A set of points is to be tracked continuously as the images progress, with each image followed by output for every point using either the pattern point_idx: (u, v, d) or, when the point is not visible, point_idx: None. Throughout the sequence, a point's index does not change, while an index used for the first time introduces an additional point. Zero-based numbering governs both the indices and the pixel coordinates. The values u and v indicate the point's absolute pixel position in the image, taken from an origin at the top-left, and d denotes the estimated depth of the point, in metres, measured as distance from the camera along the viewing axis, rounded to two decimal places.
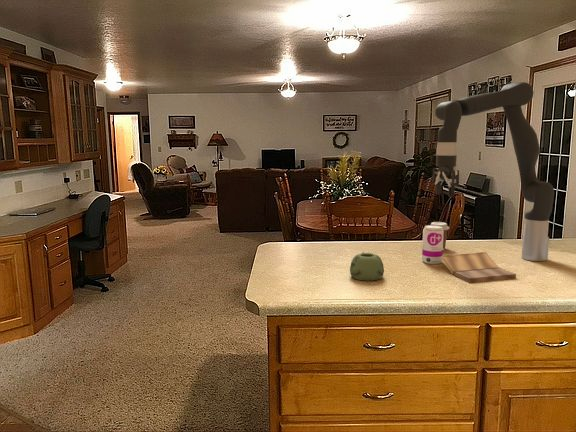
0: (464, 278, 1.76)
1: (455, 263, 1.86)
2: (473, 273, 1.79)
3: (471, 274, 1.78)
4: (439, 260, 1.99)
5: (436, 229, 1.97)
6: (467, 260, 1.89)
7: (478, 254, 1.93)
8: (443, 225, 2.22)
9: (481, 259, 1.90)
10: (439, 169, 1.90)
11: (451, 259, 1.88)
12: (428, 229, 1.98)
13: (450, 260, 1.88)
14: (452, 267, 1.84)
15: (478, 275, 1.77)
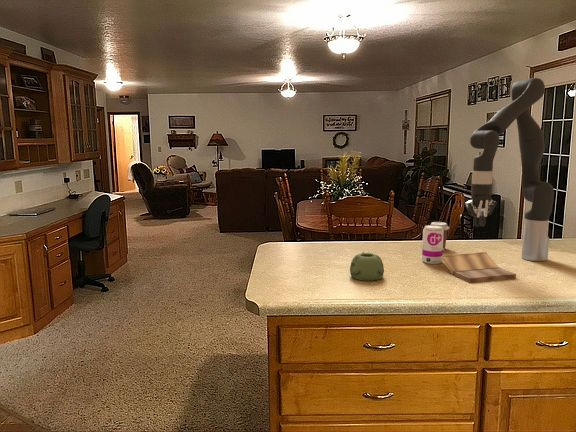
0: (464, 278, 1.76)
1: (455, 263, 1.86)
2: (473, 273, 1.79)
3: (471, 274, 1.78)
4: (439, 260, 1.99)
5: (436, 229, 1.97)
6: (467, 260, 1.89)
7: (478, 254, 1.93)
8: (443, 225, 2.22)
9: (481, 259, 1.90)
10: (476, 198, 1.86)
11: (451, 259, 1.88)
12: (428, 229, 1.98)
13: (450, 260, 1.88)
14: (452, 267, 1.84)
15: (478, 275, 1.77)
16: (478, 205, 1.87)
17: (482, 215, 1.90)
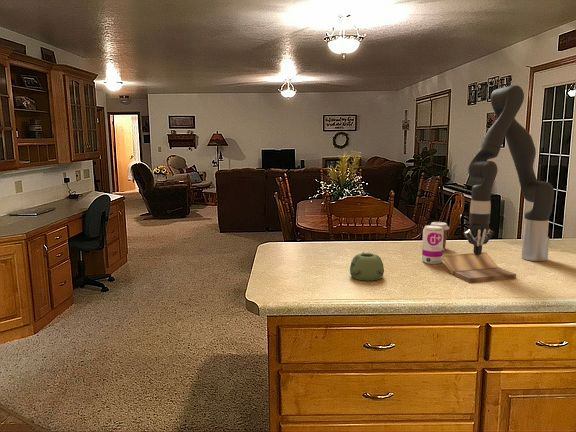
0: (464, 278, 1.76)
1: (455, 263, 1.86)
2: (473, 273, 1.79)
3: (471, 274, 1.78)
4: (439, 260, 1.99)
5: (436, 229, 1.97)
6: (467, 260, 1.89)
7: None
8: (443, 225, 2.22)
9: (481, 259, 1.90)
10: (474, 227, 1.88)
11: (451, 259, 1.88)
12: (428, 229, 1.98)
13: (450, 260, 1.88)
14: (452, 267, 1.84)
15: (478, 275, 1.77)
16: (476, 234, 1.89)
17: None
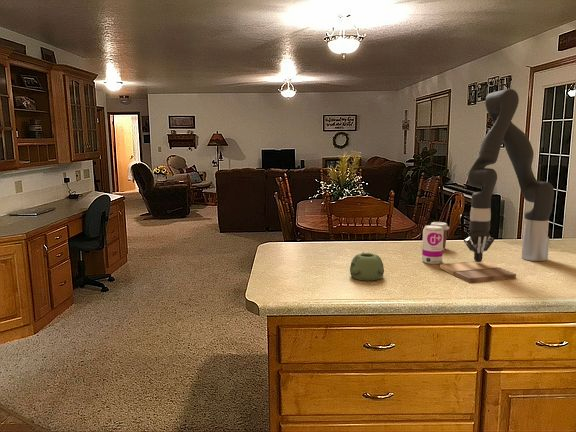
0: (464, 278, 1.76)
1: (454, 267, 1.87)
2: (473, 273, 1.79)
3: (471, 274, 1.78)
4: (439, 260, 1.99)
5: (436, 229, 1.97)
6: (466, 265, 1.90)
7: (476, 262, 1.94)
8: (443, 225, 2.22)
9: (480, 264, 1.91)
10: (474, 234, 1.88)
11: (450, 265, 1.89)
12: (428, 229, 1.98)
13: (448, 266, 1.89)
14: (452, 269, 1.85)
15: (478, 275, 1.77)
16: (477, 241, 1.89)
17: None
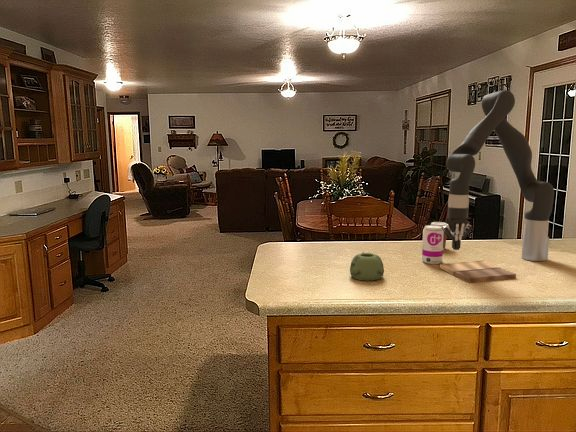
0: (464, 278, 1.76)
1: (454, 267, 1.87)
2: (473, 273, 1.79)
3: (471, 274, 1.78)
4: (439, 260, 1.99)
5: (436, 229, 1.97)
6: (466, 265, 1.90)
7: (476, 262, 1.94)
8: (443, 225, 2.22)
9: (480, 264, 1.91)
10: (452, 221, 1.85)
11: (450, 265, 1.89)
12: (428, 229, 1.98)
13: (448, 266, 1.89)
14: (452, 269, 1.85)
15: (478, 275, 1.77)
16: (455, 229, 1.86)
17: None
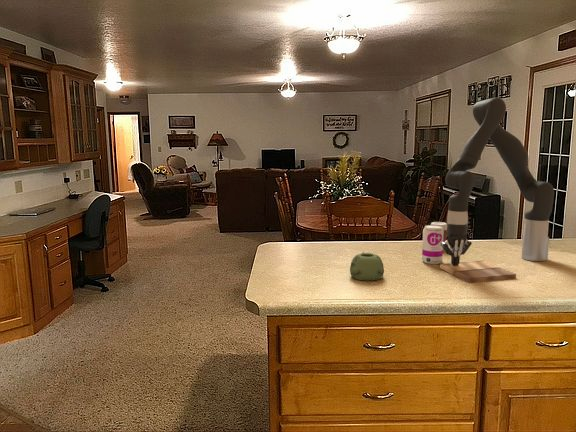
0: (464, 278, 1.76)
1: (454, 267, 1.87)
2: (473, 273, 1.79)
3: (471, 274, 1.78)
4: (439, 260, 1.99)
5: (436, 229, 1.97)
6: (466, 265, 1.90)
7: (476, 262, 1.94)
8: (443, 225, 2.22)
9: (480, 264, 1.91)
10: (451, 237, 1.86)
11: (450, 265, 1.89)
12: (428, 229, 1.98)
13: (448, 266, 1.89)
14: (452, 269, 1.85)
15: (478, 275, 1.77)
16: (454, 245, 1.87)
17: None
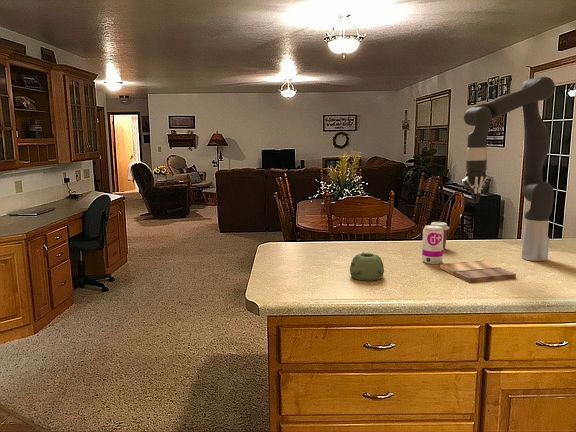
0: (464, 278, 1.76)
1: (454, 267, 1.87)
2: (473, 273, 1.79)
3: (471, 274, 1.78)
4: (439, 260, 1.99)
5: (436, 229, 1.97)
6: (466, 265, 1.90)
7: (476, 262, 1.94)
8: (443, 225, 2.22)
9: (480, 264, 1.91)
10: (471, 174, 1.88)
11: (450, 265, 1.89)
12: (428, 229, 1.98)
13: (448, 266, 1.89)
14: (452, 269, 1.85)
15: (478, 275, 1.77)
16: (474, 182, 1.89)
17: None
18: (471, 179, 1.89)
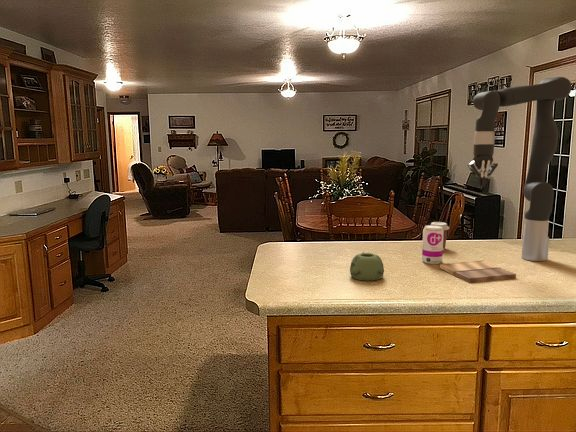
0: (464, 278, 1.76)
1: (454, 267, 1.87)
2: (473, 273, 1.79)
3: (471, 274, 1.78)
4: (439, 260, 1.99)
5: (436, 229, 1.97)
6: (466, 265, 1.90)
7: (476, 262, 1.94)
8: (443, 225, 2.22)
9: (480, 264, 1.91)
10: (478, 158, 1.90)
11: (450, 265, 1.89)
12: (428, 229, 1.98)
13: (448, 266, 1.89)
14: (452, 269, 1.85)
15: (478, 275, 1.77)
16: (481, 165, 1.91)
17: None
18: (478, 163, 1.90)
